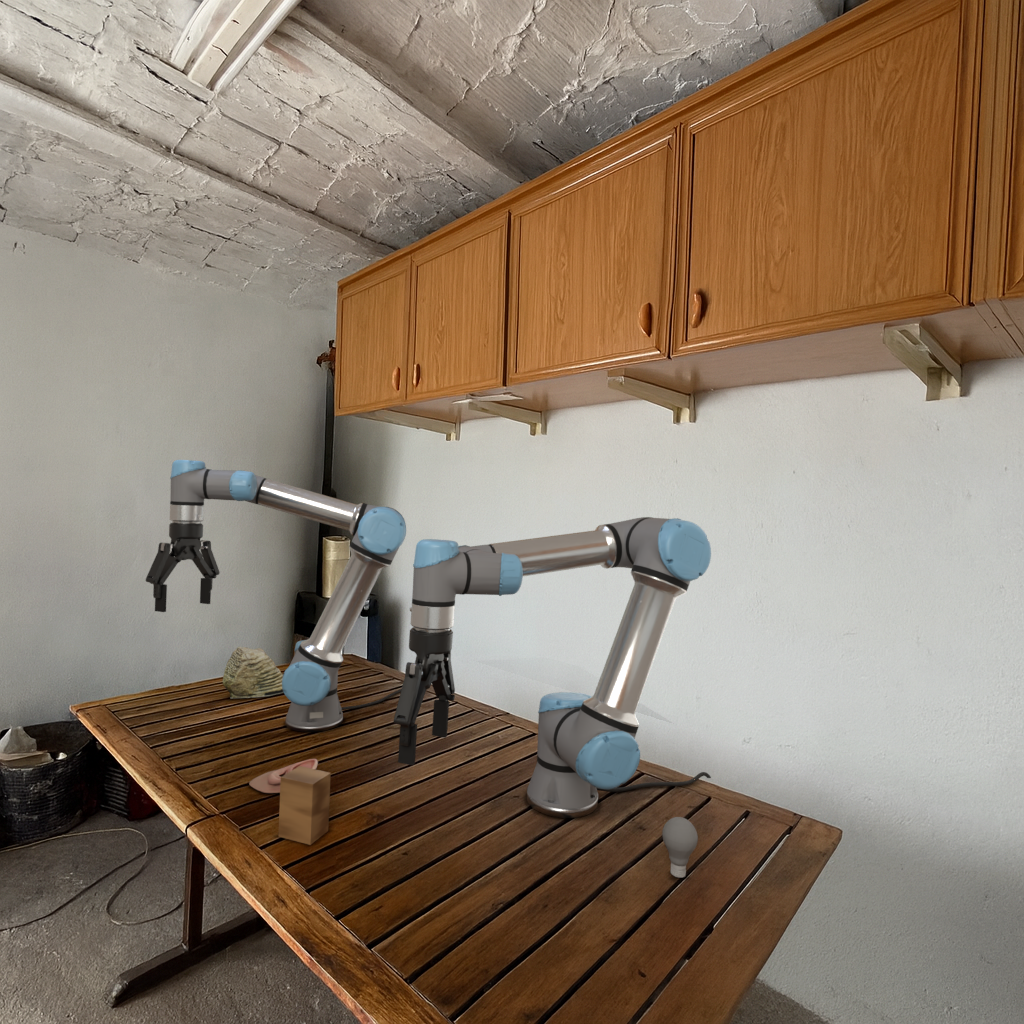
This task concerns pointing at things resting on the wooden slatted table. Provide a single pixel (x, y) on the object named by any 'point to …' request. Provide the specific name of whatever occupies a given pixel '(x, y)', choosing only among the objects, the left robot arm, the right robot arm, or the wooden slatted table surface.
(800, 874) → the wooden slatted table surface
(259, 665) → the fossil
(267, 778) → the anatomical model
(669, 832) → the light bulb
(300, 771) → the block
